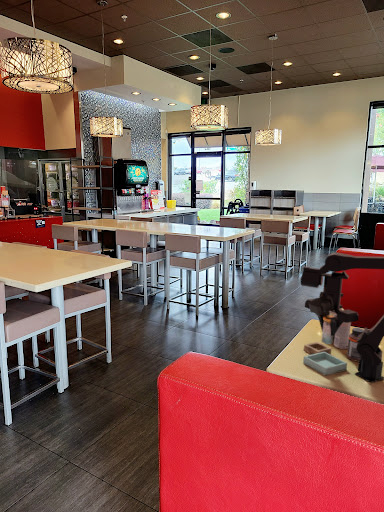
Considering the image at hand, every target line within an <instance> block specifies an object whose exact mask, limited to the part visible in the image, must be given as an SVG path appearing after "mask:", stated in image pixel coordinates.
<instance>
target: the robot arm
mask: <svg viewBox="0 0 384 512" xmlns="http://www.w3.org/2000/svg"><path fill="white" fill-rule="evenodd" d="M354 269H361V270H384V256H362V255H361V256H360V255H359V256H358V255H357V256H356V255H352V254H348V253H342V252H338V251H337V252H331V253H330V254H329V255H328V256H327V257H326V258H325V261H324V265H322V266H320V268H315V267H310V266H304V267H303V269H302V274H301V276H300V285H301V287H309V288H315V289H318V288H320V286H322V285H323V290H322V291H320V293H319V296H318V297H316V298H310V299H306V300H305V302H304V308H306V309H308V310H309V312H310V313H314V314H315V315H316V316H317V318H318V322H319V326H320V329H321V332H323V322H324V320H323V316H324V315H330V313H333V314H334V317H331V318H330V320H331V321H332V325H331V336H334V335H335V333H336V332H337V330H338V329H339V327H340V326H341V324H342V323H343V322H345V323H349V322H351V323H354V322H358V321H359V316H360V315H359V314H358V312H357V311H354V310H351V309H344V310H342V311H341V310H339V309H341V308H343V304H341V298H344V293H342V286H343V280H348V279H349V278H350V276H349V275H348V274H347V272H346V271H350V270H354ZM329 272H331V273H329ZM363 330H364V331H363V332H362V333H361V334H360V335H358V339H357V342H358V343H357V347H356V348H357V352H358V353H359V354H360V355H361V357H360V360H359V361H358V366H357V371H356V372H355V375H356V376H358V377H360V378H362V379H363V380H366V381H368V382H369V383H372V384H373V383H375V382H379V381H381V380H384V376H383V367H384V366H383V365H384V362H383V350H382V349H381V348H380V345H381V342H382V340H383V338H384V314H383V315H382V317H380V318H379V320H378V321H377V322H376V324H374V325H373V326H372V327H371V328H369V329H368V327H364V329H363Z"/></svg>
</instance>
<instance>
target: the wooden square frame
mask: <svg viewBox="0 0 384 512" xmlns="http://www.w3.org/2000/svg"><path fill="white" fill-rule="evenodd" d="M303 351H305V352H307V353H308V354H309V355H312V354H317V353H321V352H326V353H328V354H330V355H332V347H330V346H328V345H324V343H323V344H322V343H320V342H319V341H316V342H311V343H310V342H309V343H307V344H304V346H303Z"/></svg>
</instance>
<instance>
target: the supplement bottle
mask: <svg viewBox="0 0 384 512" xmlns="http://www.w3.org/2000/svg"><path fill="white" fill-rule="evenodd" d="M363 331H364V329H363V328H361V327H353V328H352V331H351V332H350V335H349V340H348V348H347V351H346V356H347V358H348V359H350V360H351V361H354V362H359V360H360V357H361V355H360V354H359V353H358V352H357V348H356V347H357V343H358V342H357V339H358V335H360V334H361V333H362V332H363Z"/></svg>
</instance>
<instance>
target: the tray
mask: <svg viewBox="0 0 384 512" xmlns="http://www.w3.org/2000/svg"><path fill="white" fill-rule="evenodd" d="M302 363H303V364H304V365H306V366H308V367H310V368H311V369H312V370H315V371H317V372H318V373H320V374H322V375H323V376H329V375H333V374H336V373H340V372H343V371H347V368H348V362H346V361H344V360H342V359H340V358H338V357H336V356H334V355H332V354H328V353H326V352H321V353H317V354H309V355H305V356H303V362H302Z"/></svg>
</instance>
